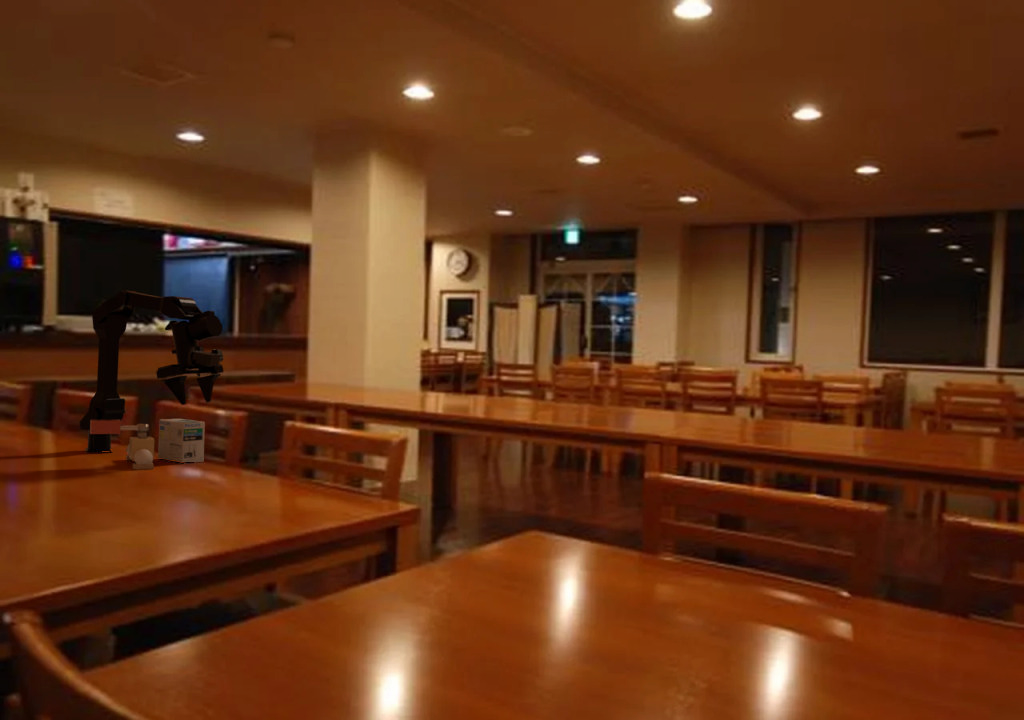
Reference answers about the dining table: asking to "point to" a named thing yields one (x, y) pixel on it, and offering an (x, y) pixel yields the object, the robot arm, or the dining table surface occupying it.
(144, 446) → the valve
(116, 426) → the valve lever
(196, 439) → the light bulb box
